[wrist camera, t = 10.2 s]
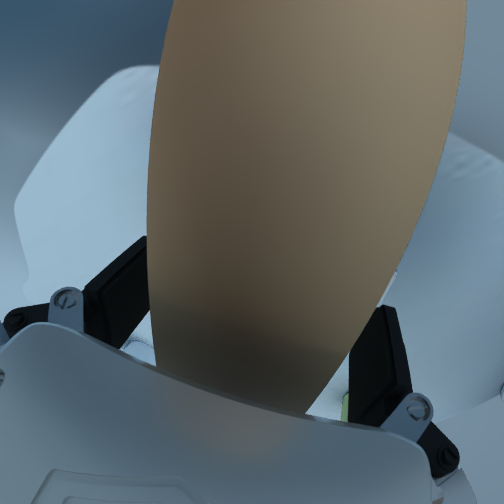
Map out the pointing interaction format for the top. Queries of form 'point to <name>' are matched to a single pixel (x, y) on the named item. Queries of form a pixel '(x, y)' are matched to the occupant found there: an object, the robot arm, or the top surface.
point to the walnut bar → (289, 180)
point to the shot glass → (141, 352)
